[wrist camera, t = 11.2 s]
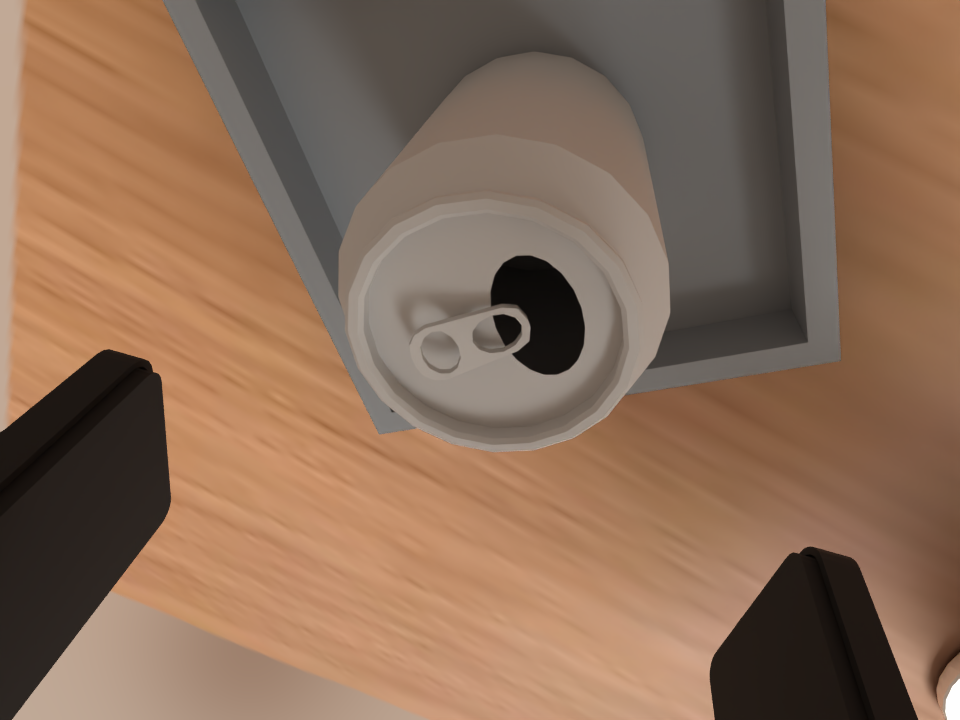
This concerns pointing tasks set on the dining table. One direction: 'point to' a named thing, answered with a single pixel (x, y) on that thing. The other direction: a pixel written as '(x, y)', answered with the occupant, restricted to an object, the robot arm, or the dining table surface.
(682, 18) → the parts tray
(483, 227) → the can
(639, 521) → the dining table surface
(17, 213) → the dining table surface
